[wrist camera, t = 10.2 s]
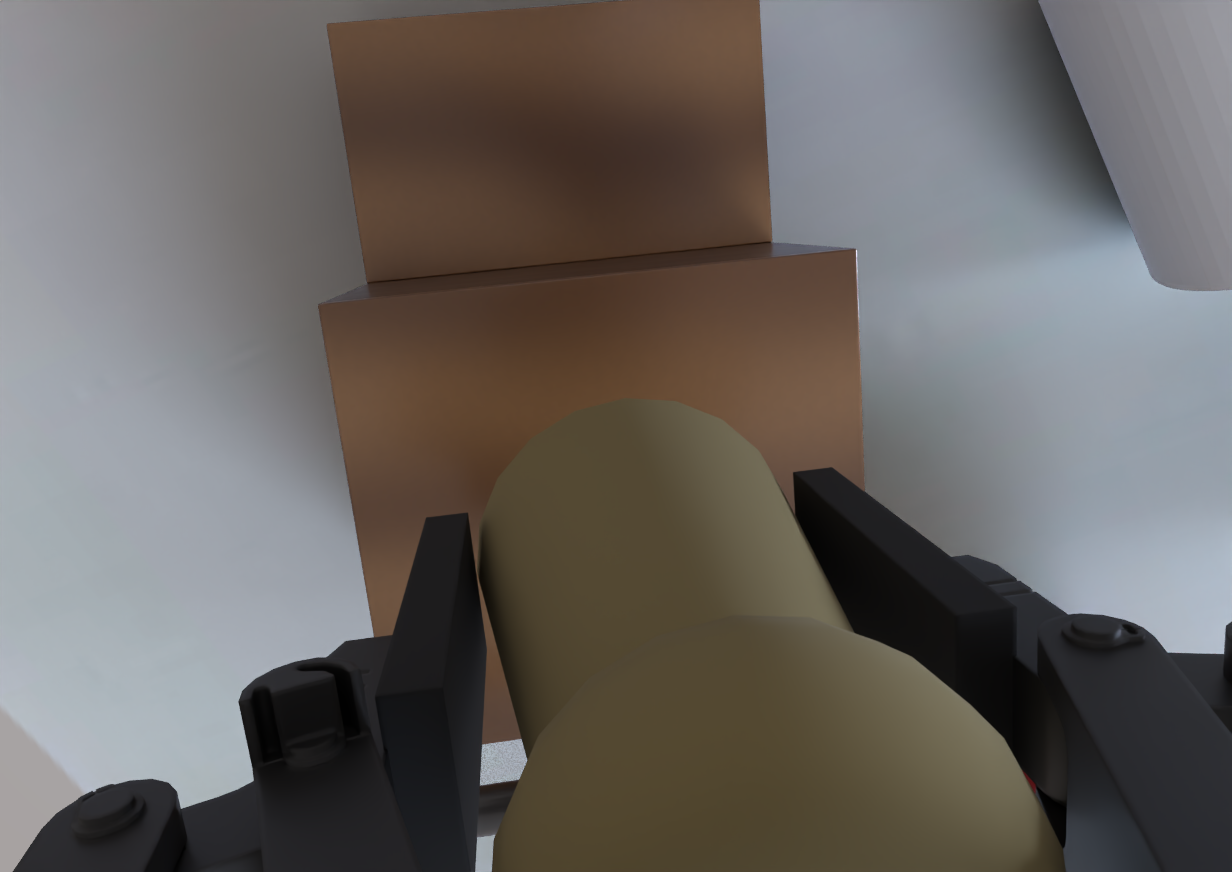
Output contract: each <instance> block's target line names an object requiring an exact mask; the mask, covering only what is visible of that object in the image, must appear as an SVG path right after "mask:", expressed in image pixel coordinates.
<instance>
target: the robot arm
mask: <svg viewBox="0 0 1232 872" xmlns="http://www.w3.org/2000/svg"><path fill="white" fill-rule="evenodd" d="M793 484H794V503H795V516H796V518H797V520H798V522H799V524H800V526H801V528H802V530H803V532H804V534H805V536H806V538H807V540H808V542H809V544H810V546H811V548H812V550H813V552H814V554H815V556H816V558H817V559H818V561H819V563H820V565H821V567H822V569H823V571H824V573H825V575H826V577H827V579H828V581H829V583H830V585H831V587H832V589H833V591H834V593H835V595H836V597H837V599H838V601H839V603H840V605H841V607H842V609H843V611H844V613H845V615H846V617H847V619H848V621H849V623H850V625H851V627H852V629H853V631H854V633H856V634H858V635H861V636H864V637H867V638H870V639H872V640H875V641H878V642H880V643H882V644H885V645H887V646H889V647H891V648H894V649H896V650H898V651H900V652H903V653H905V654H907V655H909V656H911V657H913V658H914V659H915V660H917V661H918V662H919V663H920V664H921V665H923V666H924V667H925V668H926V669H928V670H929V671H930V672H931V673H932V674H934V675H935V676H936V677H937V678H939V679H940V680H941V681H942V682H943V683H945V684H946V685H947V686H948V687H949V688H951V689H952V690H953V691H954V692H956V693H957V694H958V695H959V696H960V697H962V698H963V699H964V700H965V701H967V702H968V703H969V704H970V705H971V706H972V707H973V708H974V709H975V710H976V711H977V712H978V713H979V714H980V715H981V716H982V717H983V718H984V719H985V720H986V721H987V722H988V723H989V724H990V725H991V726H992V727H993V728H994V729H995V730H996V731H997V732H998V733H999V734H1000V735H1001V736H1002V737H1003V738H1004V739H1005V741H1006V743H1007V744H1008V746H1009V748H1010V750H1011V752H1012V753H1013V755H1014V757H1015V759H1016V760H1017V762H1018V764H1019V766H1020V768H1021V769H1022V770H1023V771H1024V772H1025V773H1026V775H1027V776H1028V777H1029V778H1030V779H1031V780H1032V781H1033V782H1034V783H1035V784H1036V796H1037V798H1038V800H1039V801H1040V803H1041V805H1042V807H1043V809H1044V811H1045V813H1046V815H1047V817H1048V820H1049V822H1050V824H1051V826H1052V828H1053V830H1054V832H1055V834H1056V836H1057V838H1058V841H1059V843H1060V845H1061V847H1062V849H1063V854H1064V861H1065V868H1066V872H1232V622H1231V623H1229V624H1228V625H1227V626H1226V632H1225V648H1224V654H1193V653H1167V652H1166V650H1165V649H1164V648H1163V647H1162V645H1161V644H1160V643H1159V642H1158V640H1157V639H1156V638H1155V637H1154V636H1153V635H1152V634H1151V633H1149V632H1148V631H1147V630H1145V629H1144V628H1143V627H1141V626H1138V625H1136V624H1134V623H1131V622H1128V621H1126V620H1122V619H1118V618H1113V617H1109V616H1104V615H1093V614H1070V615H1068V614H1066V613H1065V612H1064V611H1062V610H1061V609H1059V608H1058V607H1056V606H1055V605H1054V604H1052V603H1051V602H1049V601H1048V600H1046V599H1045V598H1044V597H1042V596H1041V595H1039V594H1038V593H1036V592H1032V589H1031V588H1029V587H1028V586H1026V585H1025V584H1024V583H1022V582H1021V581H1017V580H1016V578H1015V577H1014V576H1012V575H1011V574H1009V573H1008V572H1006V571H1005V570H1004V569H1002V568H1001V567H999V566H998V565H996V564H993V563H990V562H987V561H984V560H981V559H978V558H975V557H972V556H970V555H964V556H957V557H950V556H949V555H948V554H946V553H945V552H944V551H942V550H941V549H940V548H938V547H937V546H936V545H934V544H933V543H932V542H930V541H929V540H928V539H926V538H925V537H924V536H922V535H921V534H920V533H918V532H917V531H916V530H915V529H913V528H912V527H911V526H909V525H908V524H907V523H905V522H904V521H903V520H901V519H900V518H899V517H897V516H896V515H895V514H893V513H892V512H891V511H889V510H888V509H887V508H885V507H884V506H883V505H881V504H880V503H879V502H877V501H876V500H875V499H873V498H872V497H871V496H870V495H868V494H867V493H866V492H864V491H863V490H862V489H860V488H859V487H858V486H856V485H855V484H854V483H852V482H851V481H850V480H848V479H847V478H846V477H844V476H843V475H842V474H840V473H839V472H838V471H836V470H835V469H834V468H832V467H829V468H821V469H813V470H805V471H797V472H793ZM486 659H487V646H486V638H485V631H484V624H483V617H482V610H481V602H480V595H479V588H478V581H477V574H476V566H475V559H474V552H473V545H472V538H471V530H470V523H469V516H468V512H467V513H459V514H451V515H443V516H434V517H426V519H425V523H424V526H423V530H422V533H421V537H420V540H419V544H418V547H417V551H416V554H415V558H414V561H413V565H412V568H411V572H410V575H409V579H408V582H407V586H406V589H405V593H404V596H403V600H402V603H401V607H400V610H399V614H398V617H397V621H396V624H395V628H394V631H393V635H388V636H381V637H373V638H366V639H358V640H351V641H345V642H344V643H343V644H342V645H341V646H339V647H338V648H337V649H336V650H335V651H333V652H332V653H331V654H330V655H329V656H328V657H326V658H313V659H307V660H302V661H296V662H293V663H290V664H287V665H284V666H281V667H278V668H276V669H273V670H271V671H269V672H267V673H266V674H264V675H262V676H260V677H258V678H256V679H255V680H254V681H252V682H251V683H250V684H249V685H248V686H247V687H246V688H245V689H244V690H243V691H242V693H241V696H240V699H239V706H240V711H241V716H242V720H243V725H244V730H245V735H246V740H247V744H248V749H249V754H250V759H251V763H252V768H253V777H254V781H253V782H251V783H249V784H247V785H245V786H243V787H241V788H240V789H238V790H235V791H232V792H230V793H227V794H225V795H222V796H219V797H217V798H213V799H210V800H207V801H204V802H201V803H198V804H195V805H192V806H189V807H186V808H183V809H181V808H180V803H179V799H178V795H177V791H176V790H175V789H174V788H173V787H172V786H171V785H170V784H169V783H167V782H163V781H158V780H154V779H146V780H133V781H127V782H123V783H119V784H116V785H114V784H110V785H107V786H104V787H101V788H98V789H96V791H95V792H93V791H91V792H89V793H87V794H85V795H83V796H81V797H80V798H78V800H76V801H75V802H73V803H72V804H70V805H69V806H67V807H66V808H64V809H62V810H61V811H59V812H58V813H57V814H55V816H54V817H53V818H52V819H51V820H50V821H49V822H48V823H47V824H46V825H45V826H44V827H43V828H42V829H41V831H40V832H39V834H38V835H37V837H36V838H35V840H34V841H33V843H32V844H31V845H30V847H29V848H28V850H27V851H26V853H25V854H24V856H23V857H22V859H21V861H20V862H19V863H18V865H17V866H16V868H15V869H14V871H13V872H475V863H476V845H477V826H478V808H479V789H480V771H481V752H482V733H483V715H484V696H485V678H486Z"/></svg>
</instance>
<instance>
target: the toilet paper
mask: <svg viewBox="0 0 1232 872" xmlns="http://www.w3.org/2000/svg"><path fill="white" fill-rule="evenodd" d="M1038 1H1039V4H1040V6H1041V9H1042V11H1043V14H1044V16H1045V18H1046V21H1047V23H1048V26H1049V28H1050V31H1051V33H1052V36H1053V38H1054V40H1055V43H1056V45H1057V48H1058V50H1059V53H1060V55H1061V58H1062V60H1063V62H1064V65H1065V67H1066V70H1067V72H1068V75H1069V77H1070V79H1071V82H1072V84H1073V87H1074V89H1075V92H1076V94H1077V97H1078V99H1079V101H1080V104H1081V106H1082V109H1083V111H1084V114H1085V116H1086V119H1087V121H1088V123H1089V126H1090V128H1091V131H1092V133H1093V136H1094V138H1095V141H1096V143H1097V145H1098V148H1099V150H1100V153H1101V155H1102V158H1103V160H1104V163H1105V165H1106V167H1107V170H1108V172H1109V175H1110V177H1111V180H1112V182H1113V184H1114V187H1115V189H1116V192H1117V194H1118V197H1119V199H1120V202H1121V204H1122V206H1123V209H1124V211H1125V214H1126V216H1127V219H1128V221H1129V224H1130V226H1131V228H1132V231H1133V233H1134V236H1135V238H1136V241H1137V243H1138V246H1139V248H1140V250H1141V253H1142V255H1143V258H1144V260H1145V263H1146V265H1147V268H1148V270H1149V272H1150V275H1151V277H1152V278H1153V279H1154V280H1155V281H1157V282H1158V283H1159V284H1162V285H1164V286H1167V287H1170V288H1174V289H1180V290H1190V291H1218V290H1231V289H1232V0H1038Z"/></svg>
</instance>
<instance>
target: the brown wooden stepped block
mask: <svg viewBox="0 0 1232 872" xmlns="http://www.w3.org/2000/svg"><path fill="white" fill-rule="evenodd" d="M327 31H328V38H329V44H330V50H331V57H332V63H333V69H334V76H335V82H336V89H337V95H338V101H339V108H340V114H341V121H342V127H343V133H344V140H345V146H346V152H347V159H348V165H349V172H350V178H351V184H352V191H353V197H354V204H355V210H356V216H357V223H358V229H359V236H360V242H361V248H362V255H363V261H364V267H365V274H366V280H367V283H368V284H366V285H364V286H361V287H359V288H356V289H354V290H352V291H349V292H347V293H345V294H342V295H340V296H337V297H335V298H333V299H330V300H328V301H326V302H323V303H321V304H319V305H318V309H319V315H320V321H321V327H322V333H323V339H324V345H325V351H326V356H327V362H328V368H329V374H330V380H331V386H332V392H333V398H334V404H335V409H336V415H337V421H338V427H339V433H340V439H341V445H342V451H343V457H344V462H345V468H346V474H347V480H348V486H349V492H350V498H351V504H352V509H353V515H354V521H355V527H356V533H357V539H358V545H359V551H360V557H361V562H362V568H363V574H364V580H365V586H366V592H367V598H368V604H369V610H370V615H371V621H372V627H373V633H374V637H381V636H388V635H393V631H394V628H395V624H396V621H397V617H398V614H399V610H400V607H401V603H402V600H403V596H404V593H405V589H406V586H407V582H408V579H409V575H410V572H411V568H412V565H413V561H414V558H415V554H416V551H417V547H418V544H419V540H420V537H421V533H422V530H423V526H424V523H425V519H426V517H434V516H443V515H451V514H459V513H467V512H468V516H469V523H470V530H471V538H472V545H473V552H474V559H475V566H476V574H477V559H478V538H479V523H480V521H481V518H482V516H483V513H484V511H485V508H486V506H487V503H488V501H489V498H490V496H491V493H492V491H493V488H494V486H495V483H496V481H497V478H498V477H499V476H500V474H501V473H502V472H503V471H504V470H505V468H506V467H507V466H508V465H509V464H510V463H511V461H512V460H513V459H514V458H515V457H516V455H517V454H518V453H519V452H520V451H521V449H522V448H523V447H524V446H525V445H526V444H527V442H528V441H529V440H530V439H531V438H532V437H534V436H536V435H537V434H539V433H540V432H542V431H544V430H545V429H547V428H548V427H550V426H552V425H553V424H555V423H556V422H558V421H560V420H561V419H563V418H564V417H566V416H568V415H569V414H571V413H572V412H574V411H577V410H581V409H585V408H589V407H592V406H596V405H600V404H604V403H608V402H612V401H616V400H620V399H623V398H631V399H649V400H666V401H677V402H680V403H682V404H685V405H687V406H690V407H692V408H695V409H697V410H700V411H702V412H705V413H707V414H710V415H712V416H715V417H718V418H720V419H722V420H724V421H725V422H726V423H727V424H728V425H729V426H731V427H732V428H733V429H734V430H735V431H737V432H738V433H739V434H740V435H741V436H742V437H744V438H745V439H746V440H747V441H748V442H749V443H751V444H752V445H753V446H754V447H755V448H757V449H758V450H759V452H760V453H761V455H762V457H763V458H764V460H765V462H766V463H767V465H768V467H769V468H770V470H771V472H772V474H773V475H774V477H775V479H776V480H777V482H778V484H779V485H780V487H781V489H782V490H783V492H784V494H785V496H786V498H787V500H788V502H789V504H790V506H791V508H792V510H793V512H794V514H795V503H794V484H793V472H797V471H805V470H813V469H821V468H829V467H832V468H834V469H835V470H836V471H838V472H839V473H840V474H842V475H843V476H844V477H846V478H847V479H848V480H850V481H851V482H852V483H854V484H855V485H856V486H858V487H859V488H860V489H862V490H863V491H864V492H865V481H864V451H863V420H862V390H861V360H860V330H859V300H858V270H857V250H856V249H854V248H840V247H827V246H813V245H800V244H786V243H773V242H772V227H771V209H770V190H769V172H768V153H767V135H766V116H765V98H764V79H763V61H762V42H761V24H760V5H759V0H622V1H609V2H596V3H583V4H571V5H558V6H545V7H532V8H519V9H507V10H494V11H481V12H468V13H455V14H443V15H430V16H417V17H404V18H391V19H379V20H366V21H353V22H340V23H328V24H327ZM477 581H478V588H479V595H480V602H481V610H482V617H483V624H484V631H485V638H486V646H487V659H486V678H485V696H484V715H483V733H482V744H489V743H496V742H503V741H510V740H516V739H522V738H521V734H520V731H519V727H518V723H517V719H516V716H515V712H514V708H513V705H512V701H511V697H510V693H509V690H508V686H507V682H506V679H505V675H504V671H503V668H502V664H501V660H500V656H499V653H498V649H497V645H496V642H495V638H494V634H493V630H492V627H491V623H490V619H489V616H488V612H487V608H486V604H485V601H484V597H483V593H482V590H481V586H480V582H479V578H478V575H477ZM518 782H519V780H514V781H508V782H501V783H494V784H487V785H481V786H480V789H479V808H478V826H477V837H484V836H490V835H496V833H497V831H498V829H499V826H500V824H501V822H502V819H503V817H504V815H505V812H506V810H507V808H508V805H509V803H510V801H511V798H512V796H513V794H514V791H515V789H516V787H517V784H518Z"/></svg>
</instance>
